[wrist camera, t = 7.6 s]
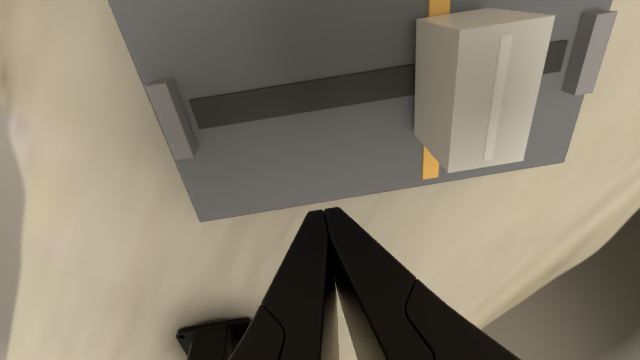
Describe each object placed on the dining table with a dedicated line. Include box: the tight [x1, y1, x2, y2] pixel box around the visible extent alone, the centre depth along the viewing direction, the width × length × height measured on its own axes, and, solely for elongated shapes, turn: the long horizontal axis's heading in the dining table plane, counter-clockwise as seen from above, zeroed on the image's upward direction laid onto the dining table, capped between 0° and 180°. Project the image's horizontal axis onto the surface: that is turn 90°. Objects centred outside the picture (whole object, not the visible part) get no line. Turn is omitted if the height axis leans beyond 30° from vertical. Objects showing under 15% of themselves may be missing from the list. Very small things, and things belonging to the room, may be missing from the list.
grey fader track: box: [108, 0, 618, 222], centre depth 18 cm, size 14×24×2 cm, turn 97°
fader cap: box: [414, 8, 555, 173], centre depth 15 cm, size 6×4×5 cm, turn 8°
